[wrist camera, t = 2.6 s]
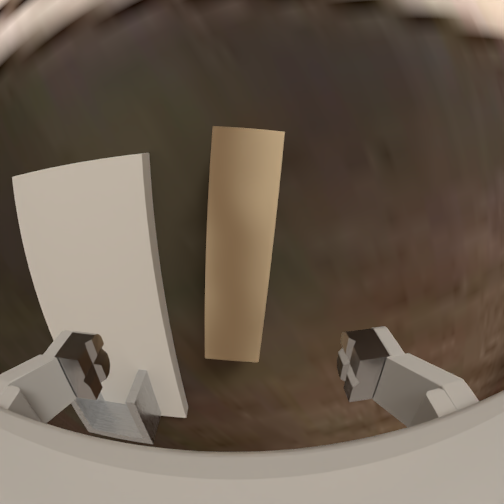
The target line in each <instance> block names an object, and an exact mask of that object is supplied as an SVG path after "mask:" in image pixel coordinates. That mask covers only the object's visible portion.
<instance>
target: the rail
mask: <svg viewBox="0 0 504 504" xmlns="http://www.w3.org/2000/svg"><path fill="white" fill-rule="evenodd" d="M284 134H285V132H281V131H272V130H262V129H250V128H236V127H217V126H213V131H212V145H211V159H210V175H209V192H208V212H207V237H206V270H205V358H207V359H218V360H230V361H245V362H259V354H260V346H261V339H262V331H263V323H264V315H265V307H266V299H267V291H268V283H269V275H270V266H271V258H272V249H273V240H274V231H275V222H276V213H277V204H278V194H279V185H280V175H281V165H282V155H283V145H284Z"/></svg>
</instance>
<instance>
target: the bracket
mask: <svg viewBox="0 0 504 504" xmlns="http://www.w3.org/2000/svg"><path fill="white" fill-rule="evenodd" d="M12 180H13V189H14V196H15V203H16V210H17V216H18V221H19V227H20V232H21V236H22V241H23V246H24V250H25V254H26V258H27V262H28V266H29V270H30V273H31V277H32V280H33V284H34V287H35V290H36V293H37V297H38V300H39V303H40V306H41V309H42V311H43V314H44V317H45V320H46V322H47V325H48V328H49V330H50V333H51V335H52V338H53V340H55V339H56V338H57V336H58V335H59V334H60V333H61V331H64V330H69V331H79V332H87V333H96V334H99V335H100V336H101V337H102V340H103V342H104V345H103V347H102V349H103V350H104V351H105V352H106V353H107V354H108V357H109V360H110V372H109V375H108V377H107V379H106V380H104V381H103V382H101V384H102V387H103V388H102V390H101V392H100V394H99V396H98V398H97V400H91V399H84V398H78V397H76V399H75V400H74V401H73V402H72V403H71V404H72V406H73V407H74V409H75V411H76V412H77V414H78V416H79V417H80V419H81V420H82V422H83V424H84V425H85V427H86V428H87V430H88V431H89V432H92V433H96V434H100V435H105V436H109V437H114V438H119V439H124V440H129V441H135V442H141V443H148V444H154V440H155V436H156V432H157V428H158V424H159V421H160V417H161V416H170V417H182V418H186V417H187V411H188V404H187V400H186V396H185V392H184V388H183V384H182V379H181V375H180V371H179V366H178V362H177V357H176V353H175V348H174V343H173V338H172V333H171V328H170V322H169V317H168V311H167V306H166V300H165V294H164V288H163V281H162V274H161V268H160V260H159V253H158V245H157V237H156V228H155V219H154V209H153V198H152V187H151V173H150V157H149V153H142V154H133V155H125V156H118V157H111V158H104V159H97V160H91V161H85V162H79V163H74V164H68V165H63V166H58V167H53V168H48V169H44V170H39V171H35V172H30V173H26V174H22V175H18V176H14V177H12Z"/></svg>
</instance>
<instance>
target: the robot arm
mask: <svg viewBox="0 0 504 504" xmlns="http://www.w3.org/2000/svg"><path fill="white" fill-rule="evenodd" d="M340 343H341V345H342V347H343V348H342V349H341V350H340V351H339V352H338V357H337V369H338V374H339V377H340V379H342V380H343V381H345V384H344V390H345V393H346V395H347V398H348V401H349V402H352V401H359V400H366V399H372V398H373V400H374V401H375V402H377V403H378V404H379V405H380V406H382V407H383V408H384V409H385V410H387V411H388V412H389V413H390V414H392V415H393V416H394V417H396V418H397V419H398V420H399V421H401V422H402V423H403V424H405V425H406V426H407V428H404V429H400V430H397V431H393V432H389V433H385V434H381V435H376V436H372V437H367V438H363V439H358V440H353V441H347V442H342V443H336V444H329V445H322V446H315V447H307V448H298V449H287V450H274V451H254V452H210V451H190V450H177V449H166V448H157V447H149V446H142V445H135V444H129V443H123V442H117V441H112V440H107V439H102V438H98V437H93V436H89V435H85V434H81V433H77V432H73V431H69V430H66V429H62V428H59V427H55V426H52V425H49V424H46V423H47V422H48V421H49V420H51V419H52V418H53V417H54V416H56V415H57V414H58V413H59V412H60V411H62V410H63V409H64V408H65V407H67V406H68V405H69V404H70V403H72V402H73V401H74V400H75V399H76V397H78V398H84V399H91V400H97V398H98V396H99V394H100V392H101V390H102V388H103V387H102V384H101V382H103V381H104V380H106V379H107V377H108V375H109V372H110V360H109V357H108V354H107V353H106V352H105V351H104V350H103V349H102V347H103V345H104V342H103V340H102V337H101V336H100V335H99V334H96V333H87V332H79V331H69V330H64V331H61V333H60V334H59V335H58V336H57V338H56V339H55V340H54V341H53V343H52V344H51V345H50V346H49V348H48V349H47V350H46V352H45V353H44V354H43V355H38V356H36V357H34V358H32V359H30V360H28V361H26V362H24V363H22V364H20V365H18V366H16V367H14V368H12V369H10V370H8V371H6V372H4V373H2V374H0V504H504V390H503V391H501V392H499V393H497V394H495V395H493V396H491V397H488V398H486V399H484V400H482V401H479V400H478V399H477V397H476V396H475V395H474V393H473V392H472V391H471V389H470V388H469V386H468V385H467V384H466V382H465V381H464V380H463V379H462V378H459V377H457V376H455V375H453V374H451V373H449V372H447V371H445V370H443V369H440V368H438V367H436V366H434V365H432V364H430V363H428V362H426V361H424V360H422V359H420V358H418V357H416V356H414V355H411V354H409V353H407V354H405V353H404V352H403V350H402V349H401V347H400V346H399V344H398V343H397V341H396V340H395V339H394V337H393V336H392V334H391V333H390V331H389V330H388V329H387V327H385V326H381V327H375V328H371V329H364V330H355V331H346V332H343V333H342V335H341V340H340Z"/></svg>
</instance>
